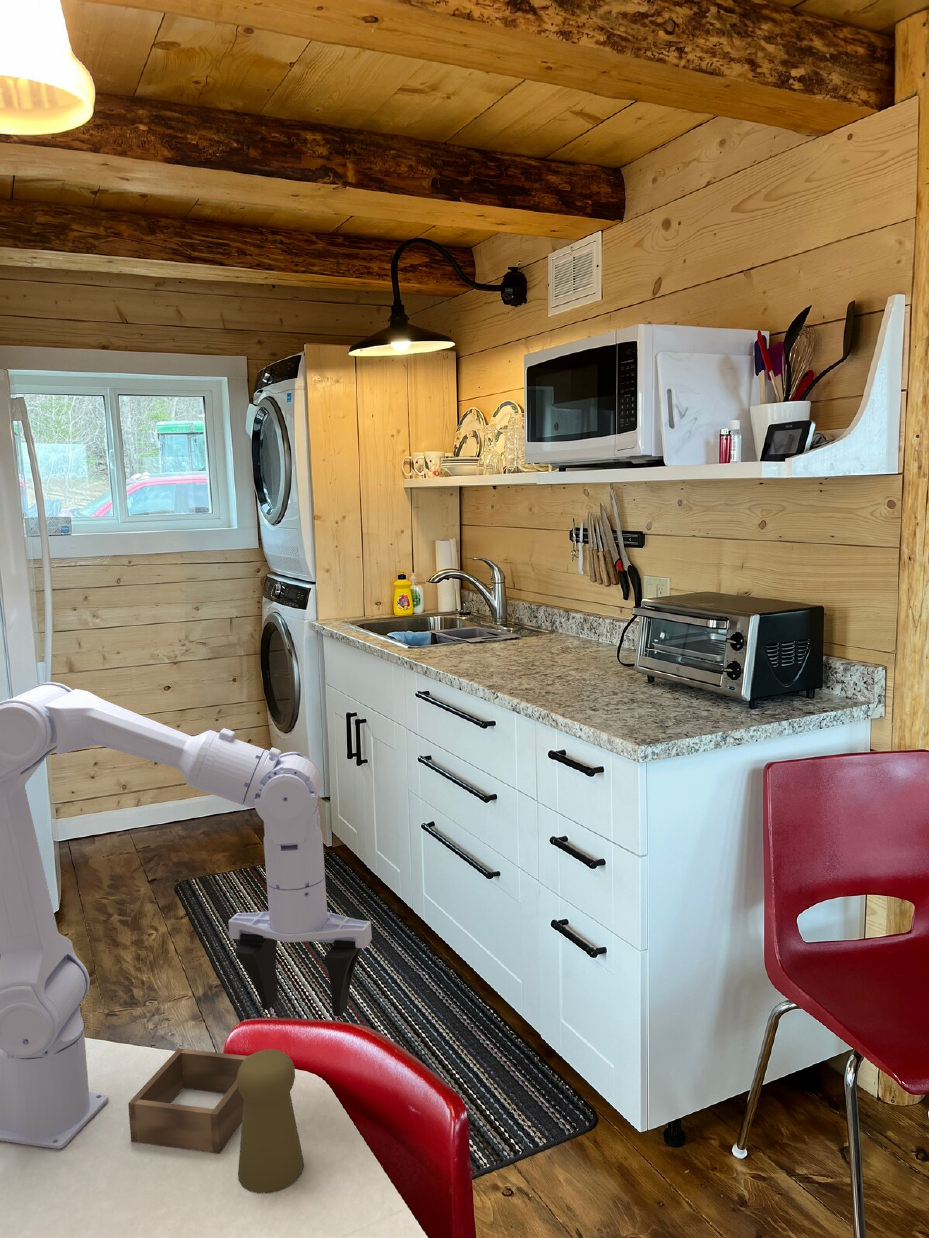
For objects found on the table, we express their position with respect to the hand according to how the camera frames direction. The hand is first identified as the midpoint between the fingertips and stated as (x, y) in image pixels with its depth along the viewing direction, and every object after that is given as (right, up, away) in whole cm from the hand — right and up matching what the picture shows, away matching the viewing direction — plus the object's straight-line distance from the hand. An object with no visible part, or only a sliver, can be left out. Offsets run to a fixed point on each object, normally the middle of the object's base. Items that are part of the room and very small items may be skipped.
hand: (305, 1007), depth 95 cm
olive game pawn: (-2, -12, -8) cm, 14 cm away
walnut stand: (-11, -11, 0) cm, 15 cm away
